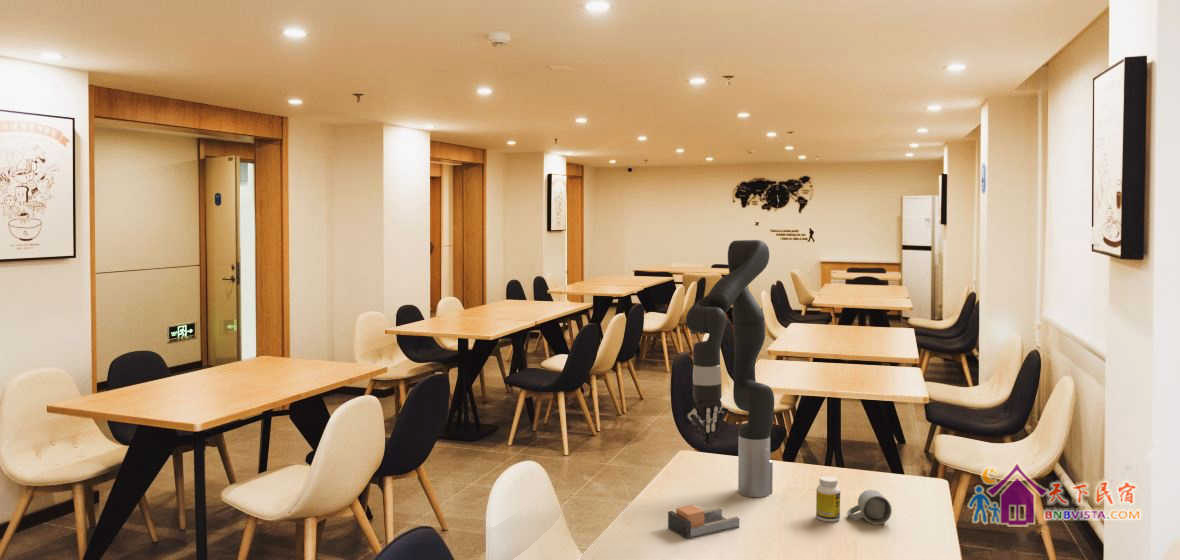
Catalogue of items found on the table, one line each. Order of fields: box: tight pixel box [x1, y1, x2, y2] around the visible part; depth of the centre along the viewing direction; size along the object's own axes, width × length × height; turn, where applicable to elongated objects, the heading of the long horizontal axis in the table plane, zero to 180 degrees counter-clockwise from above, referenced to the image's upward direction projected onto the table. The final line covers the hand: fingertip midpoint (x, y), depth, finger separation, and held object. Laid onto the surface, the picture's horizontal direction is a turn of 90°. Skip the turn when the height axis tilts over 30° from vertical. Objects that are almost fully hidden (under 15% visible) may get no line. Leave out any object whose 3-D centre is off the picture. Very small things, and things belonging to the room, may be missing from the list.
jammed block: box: [675, 504, 705, 527], centre depth 207 cm, size 5×6×5 cm
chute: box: [667, 507, 740, 540], centre depth 209 cm, size 17×9×4 cm, turn 118°
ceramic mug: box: [846, 489, 893, 525], centre depth 214 cm, size 11×8×8 cm
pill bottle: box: [815, 475, 841, 523], centre depth 215 cm, size 6×6×11 cm
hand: (708, 444), depth 212 cm, fingers closed
